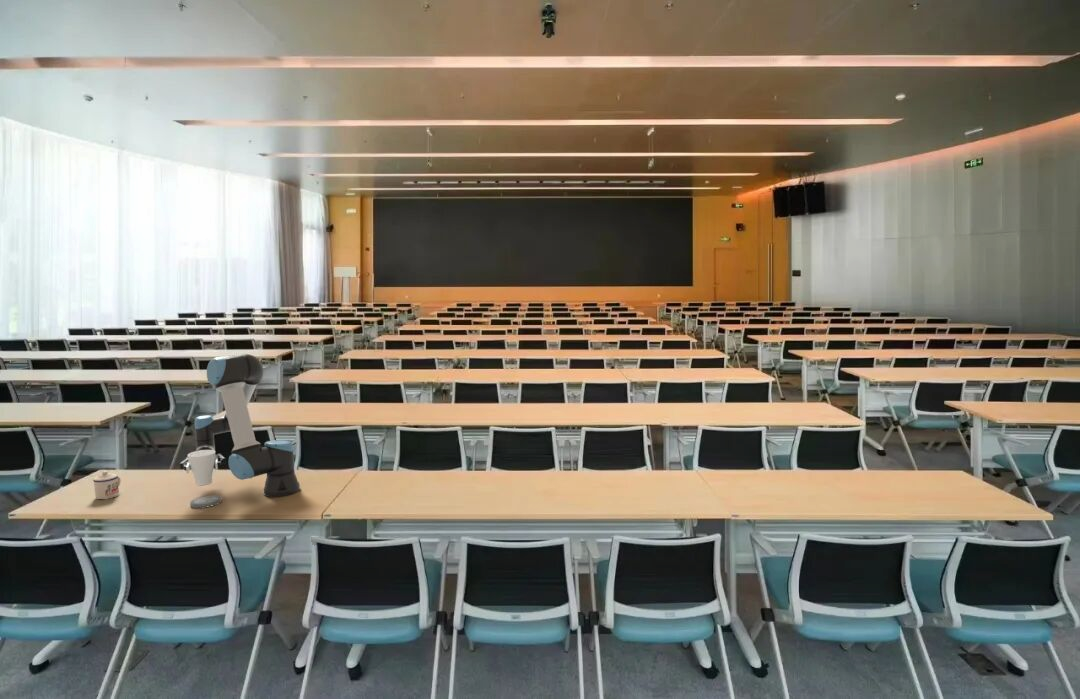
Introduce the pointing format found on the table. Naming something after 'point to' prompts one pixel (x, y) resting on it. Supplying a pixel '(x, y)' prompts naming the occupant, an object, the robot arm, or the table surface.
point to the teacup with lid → (106, 485)
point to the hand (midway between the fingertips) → (202, 468)
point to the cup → (202, 466)
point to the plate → (205, 501)
